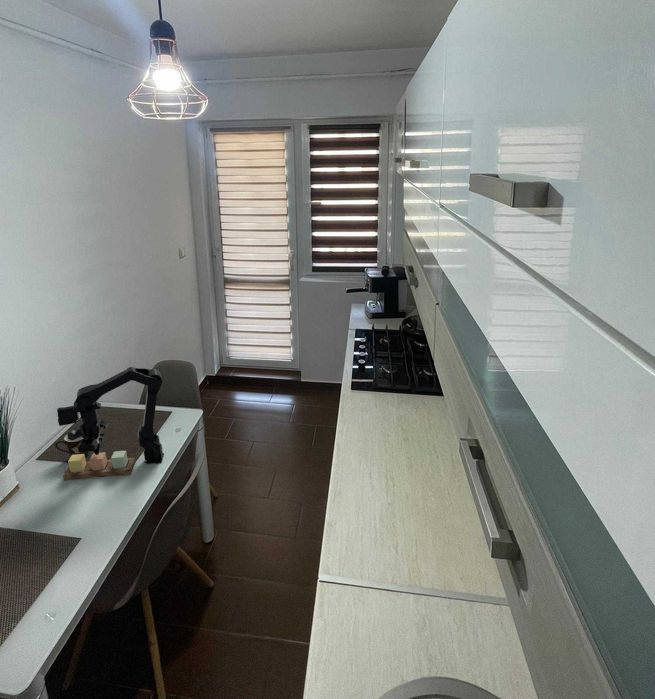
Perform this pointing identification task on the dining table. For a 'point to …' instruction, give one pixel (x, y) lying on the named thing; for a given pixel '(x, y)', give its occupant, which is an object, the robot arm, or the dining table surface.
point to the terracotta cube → (98, 461)
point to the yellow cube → (77, 463)
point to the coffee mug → (73, 446)
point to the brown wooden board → (100, 471)
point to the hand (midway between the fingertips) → (97, 454)
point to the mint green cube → (119, 459)
